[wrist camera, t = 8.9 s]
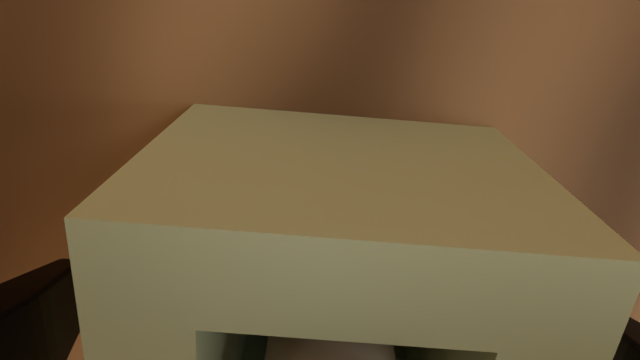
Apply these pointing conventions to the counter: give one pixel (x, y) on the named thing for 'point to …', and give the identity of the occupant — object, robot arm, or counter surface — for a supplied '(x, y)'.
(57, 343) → the robot arm
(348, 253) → the square hollow cube
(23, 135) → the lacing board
